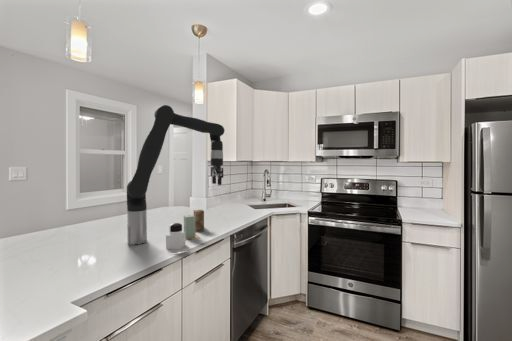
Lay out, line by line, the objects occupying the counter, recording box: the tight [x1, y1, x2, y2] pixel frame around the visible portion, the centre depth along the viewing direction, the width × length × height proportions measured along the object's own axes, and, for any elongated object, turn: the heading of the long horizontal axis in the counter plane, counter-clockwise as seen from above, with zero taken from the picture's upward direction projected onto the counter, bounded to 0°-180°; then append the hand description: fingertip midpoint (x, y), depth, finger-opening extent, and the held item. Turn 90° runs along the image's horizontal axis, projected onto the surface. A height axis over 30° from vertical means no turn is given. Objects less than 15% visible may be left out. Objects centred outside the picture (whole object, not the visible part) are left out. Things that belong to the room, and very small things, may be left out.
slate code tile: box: [195, 226, 210, 234], centre depth 158 cm, size 10×10×1 cm
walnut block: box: [193, 209, 205, 231], centre depth 158 cm, size 5×5×12 cm
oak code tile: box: [185, 233, 201, 242], centre depth 143 cm, size 10×10×1 cm
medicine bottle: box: [165, 222, 186, 250], centre depth 128 cm, size 7×7×12 cm
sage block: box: [183, 214, 196, 239], centre depth 143 cm, size 5×5×12 cm
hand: (216, 184), depth 157 cm, fingers open, 8 cm apart
